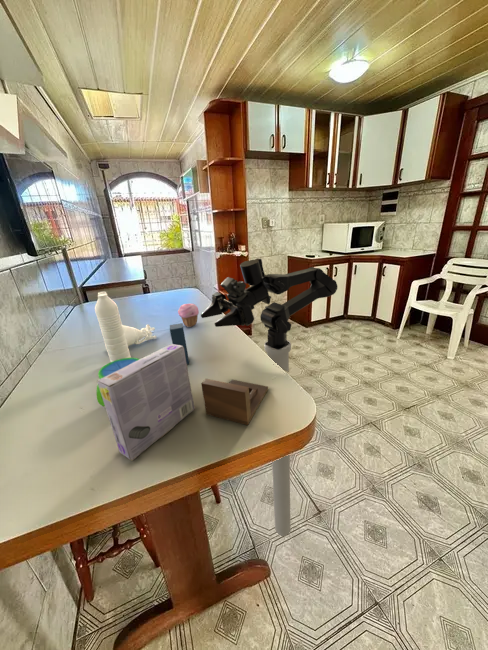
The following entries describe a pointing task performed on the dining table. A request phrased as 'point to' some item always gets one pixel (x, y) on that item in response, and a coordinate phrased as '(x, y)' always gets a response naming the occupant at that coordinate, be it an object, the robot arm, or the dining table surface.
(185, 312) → the cupcake
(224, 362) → the dining table surface
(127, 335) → the rocket engine
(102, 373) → the snack cup
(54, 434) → the dining table surface
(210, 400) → the pad seat
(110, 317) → the water bottle
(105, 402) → the cake pan box
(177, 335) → the back pad
